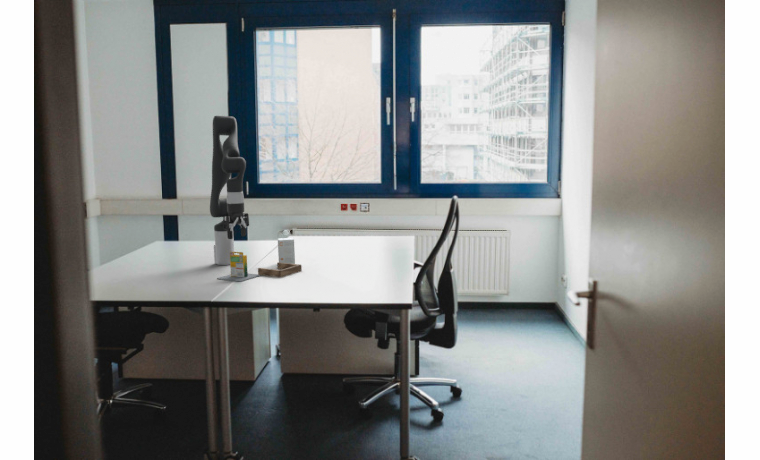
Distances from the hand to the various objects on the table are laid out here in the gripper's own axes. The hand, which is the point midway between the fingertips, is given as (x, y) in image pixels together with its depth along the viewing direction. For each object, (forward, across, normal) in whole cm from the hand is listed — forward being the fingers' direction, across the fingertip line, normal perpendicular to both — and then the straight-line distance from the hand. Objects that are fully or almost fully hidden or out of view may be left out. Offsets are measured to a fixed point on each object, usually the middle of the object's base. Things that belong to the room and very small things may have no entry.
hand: (237, 237), depth 268 cm
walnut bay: (+18, -16, +10) cm, 26 cm away
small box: (+19, -34, +1) cm, 39 cm away
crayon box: (+18, 0, 0) cm, 18 cm away
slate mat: (+18, 0, 0) cm, 18 cm away
